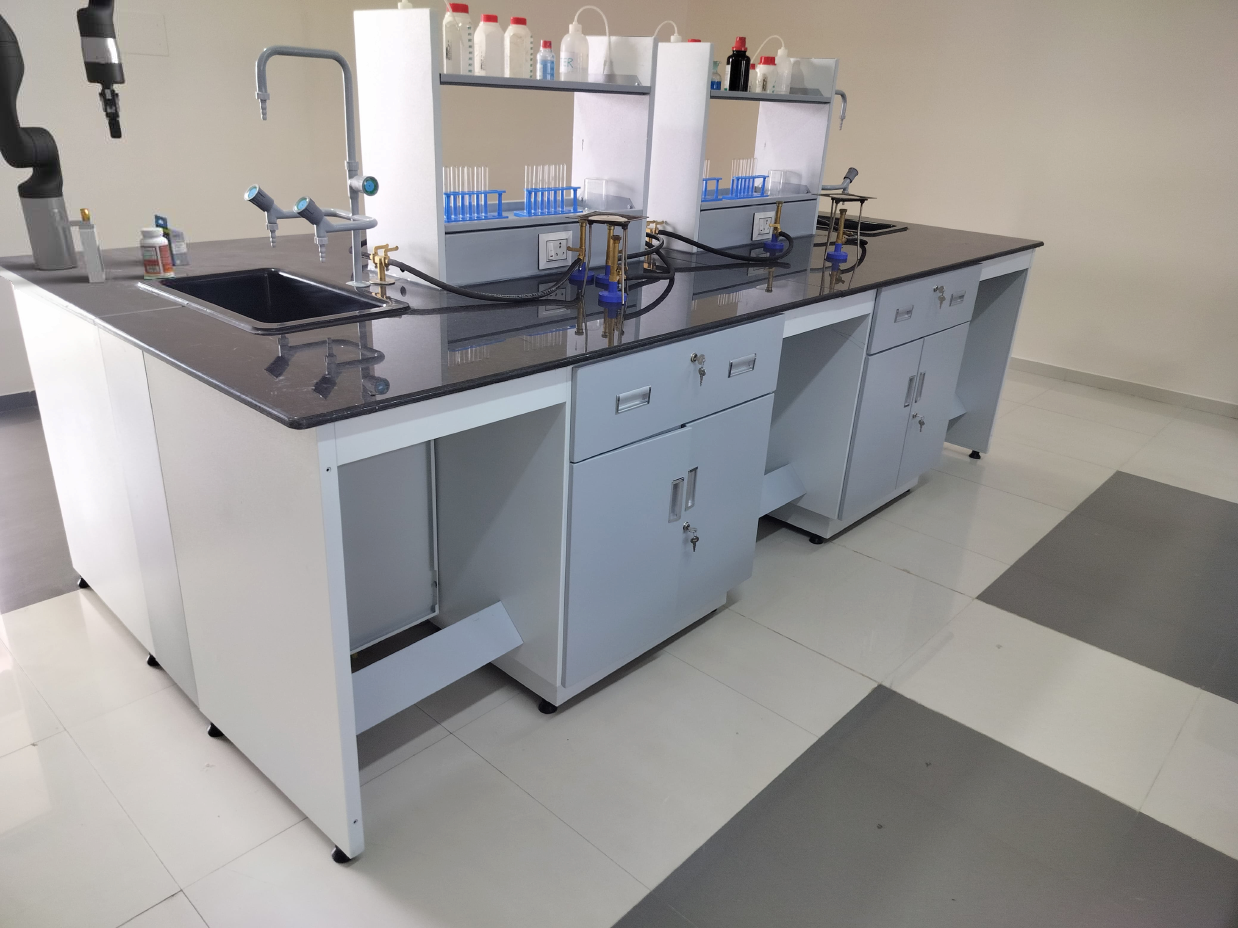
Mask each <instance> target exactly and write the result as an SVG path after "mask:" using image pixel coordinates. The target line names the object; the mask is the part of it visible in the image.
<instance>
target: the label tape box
mask: <svg viewBox="0 0 1238 928" xmlns="http://www.w3.org/2000/svg"><path fill="white" fill-rule="evenodd" d="M160 221H161V222H162V223H161V222H160ZM154 225H155V228H162V230H163V235H162V237H164V238H166V239H167V241H168V245H169V250H170V256H171V261H172V266H175V267H179V266H187V265H190V259H189V254H188V251H187V246H186V241H185V235H184V232H183V231H180V230H177V229H174V228H170V227H169V225H168V218H167V217H165V216H164V217H163V216H160V215H158V214H154Z"/></svg>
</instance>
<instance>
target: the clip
mask: <svg viewBox="0 0 1238 928" xmlns="http://www.w3.org/2000/svg"><path fill="white" fill-rule="evenodd" d="M79 210H80V215H81V219H80V220H69V221H55V226H56V227H70V228H73V227H78V226H91V224H92V223H91V217H90V212H89V209H88V208H80V209H79Z"/></svg>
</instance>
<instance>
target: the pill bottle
mask: <svg viewBox="0 0 1238 928" xmlns="http://www.w3.org/2000/svg"><path fill="white" fill-rule="evenodd" d="M140 233H141V237H142V238H141V239H140V240H139V247H140V248H139V249H140V252H141V258H142V262H143V268H144V273H146V275H147V276H150V277H163V276H169V275H172V274H173V272H174V269H173V268H174V267H173V265H172V261H171V256H170V250H169V245H168V241H167V239H166V238H164V237H162V235H163V230H162V228H156V227H144V228H140Z"/></svg>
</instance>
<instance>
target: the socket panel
mask: <svg viewBox="0 0 1238 928" xmlns="http://www.w3.org/2000/svg"><path fill="white" fill-rule="evenodd" d="M77 227H78V233H79V237H80V238H79V239H80V243H81V247H82V252H83V257H84V261H85V265H86V266H85V267H86V270H87V275H88V280H89V283H91V284H92V283H104V282H106V271H105V266H104V263H103V262H104V261H103V257H102V253H101V252H102V251H101V247H100V243H99V242H100V241H99V238H98V236H99V235H98V232H97V226H96V224H94V223H93V224H92V223H91V226H77Z"/></svg>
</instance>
